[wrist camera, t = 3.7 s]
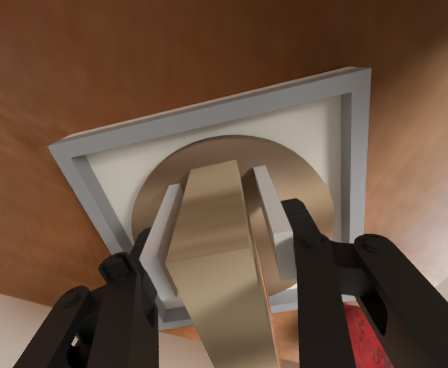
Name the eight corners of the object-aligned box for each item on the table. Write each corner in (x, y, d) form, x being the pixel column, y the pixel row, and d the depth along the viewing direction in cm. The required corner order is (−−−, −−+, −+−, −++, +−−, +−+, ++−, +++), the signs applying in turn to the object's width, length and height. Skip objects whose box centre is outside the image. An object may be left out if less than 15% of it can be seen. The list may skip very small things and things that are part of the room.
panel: (70, 134, 17) (42, 148, 14) (358, 64, 15) (388, 65, 12) (163, 308, 26) (157, 337, 23) (353, 277, 24) (369, 304, 21)
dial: (100, 162, 16) (-19, 265, 8) (325, 110, 15) (451, 171, 7) (172, 304, 23) (146, 436, 15) (332, 277, 22) (398, 408, 14)
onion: (337, 280, 24) (386, 373, 17) (381, 297, 25) (444, 390, 18) (303, 314, 26) (333, 408, 19) (345, 327, 28) (388, 421, 20)
